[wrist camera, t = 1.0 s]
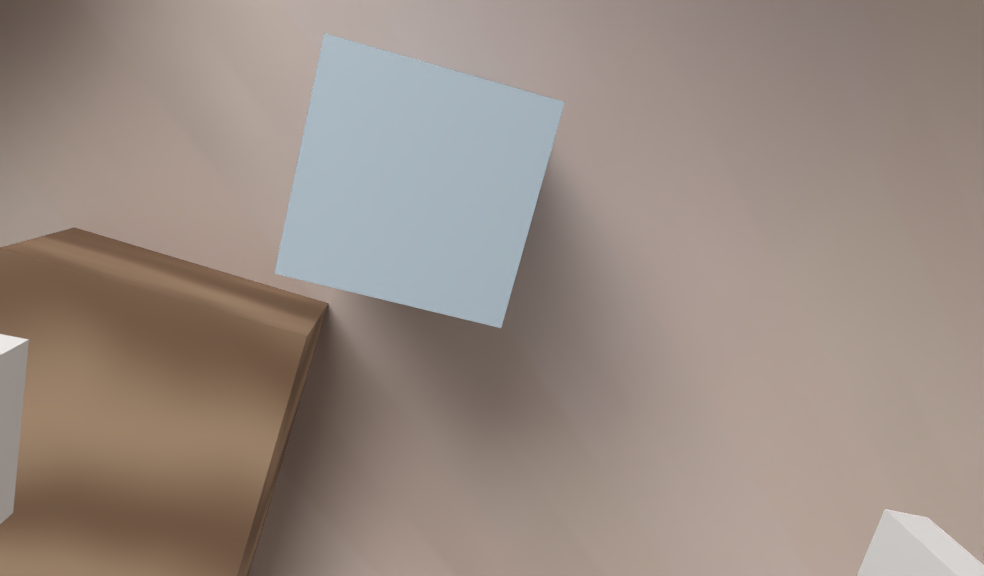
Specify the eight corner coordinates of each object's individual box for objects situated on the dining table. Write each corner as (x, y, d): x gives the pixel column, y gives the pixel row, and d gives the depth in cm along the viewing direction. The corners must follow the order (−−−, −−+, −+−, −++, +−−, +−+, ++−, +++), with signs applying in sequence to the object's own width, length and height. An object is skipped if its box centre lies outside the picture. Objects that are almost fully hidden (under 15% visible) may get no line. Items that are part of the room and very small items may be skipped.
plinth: (78, 226, 27) (-1, 247, 22) (329, 301, 28) (306, 337, 24) (3, 575, 30) (-81, 661, 25) (233, 627, 31) (195, 718, 27)
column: (368, 68, 26) (323, 33, 16) (520, 111, 27) (564, 102, 17) (334, 221, 27) (274, 273, 18) (481, 258, 28) (501, 328, 18)
